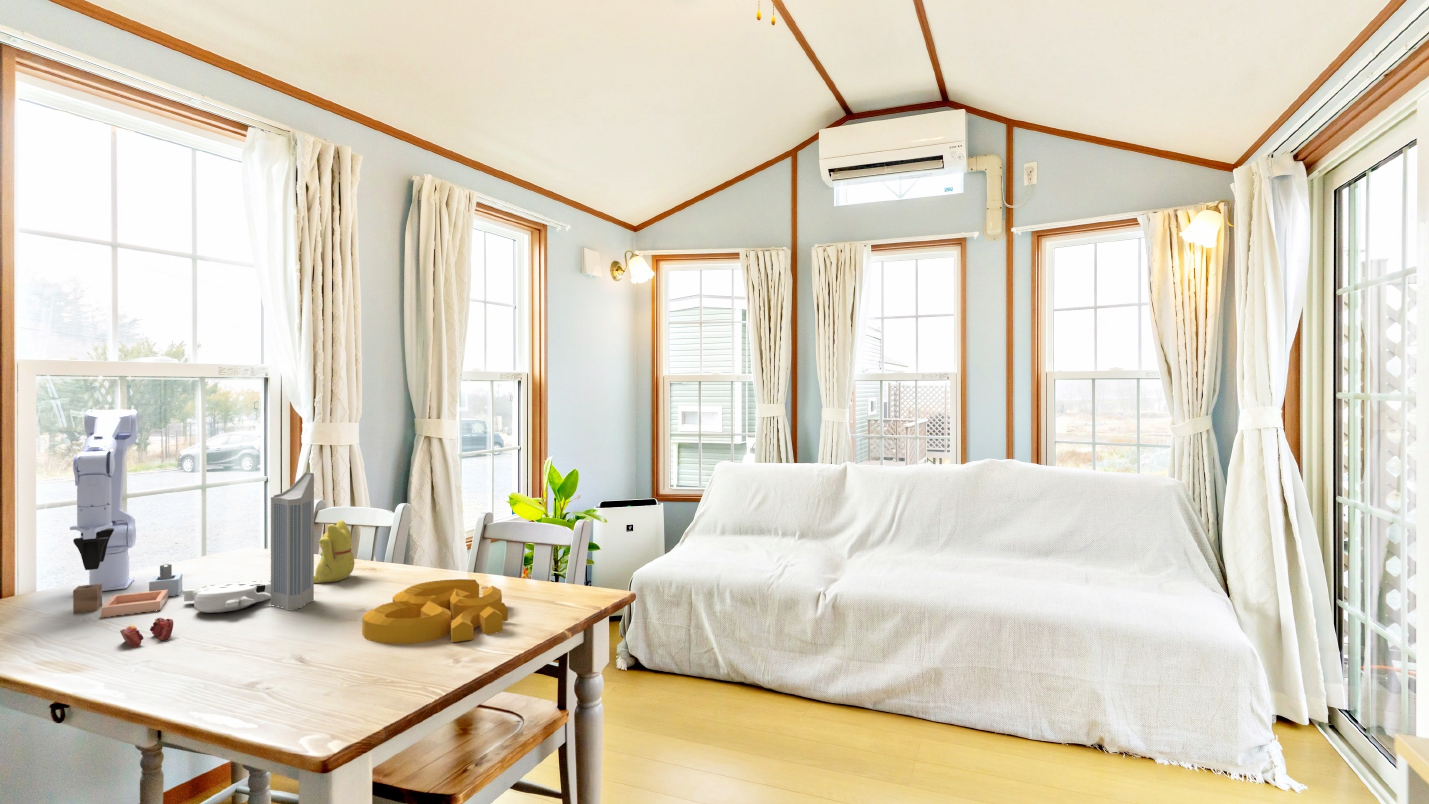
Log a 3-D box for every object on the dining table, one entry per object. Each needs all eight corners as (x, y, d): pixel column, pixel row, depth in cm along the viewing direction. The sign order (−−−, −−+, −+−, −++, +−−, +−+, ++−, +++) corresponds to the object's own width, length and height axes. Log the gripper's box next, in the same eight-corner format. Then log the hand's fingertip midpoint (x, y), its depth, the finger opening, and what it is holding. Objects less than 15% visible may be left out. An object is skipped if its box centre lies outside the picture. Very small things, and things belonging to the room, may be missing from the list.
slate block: (153, 592, 167) (153, 576, 166) (182, 589, 169) (182, 573, 169) (149, 599, 162) (149, 582, 162) (178, 595, 165) (178, 579, 164)
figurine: (327, 574, 185) (327, 518, 184) (360, 574, 185) (361, 518, 185) (304, 586, 174) (304, 526, 173) (340, 586, 174) (340, 526, 174)
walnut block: (78, 608, 155) (78, 585, 155) (102, 605, 157) (101, 583, 157) (73, 613, 151) (73, 590, 151) (97, 610, 153) (97, 587, 153)
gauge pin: (160, 594, 166) (160, 564, 166) (172, 592, 167) (172, 563, 167) (159, 596, 164) (159, 566, 164) (170, 595, 165) (170, 565, 165)
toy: (147, 619, 147) (244, 614, 148) (148, 597, 148) (244, 592, 149) (216, 602, 169) (300, 597, 170) (217, 582, 170) (300, 578, 171)
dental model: (117, 622, 134) (168, 612, 141) (116, 643, 135) (167, 632, 141) (124, 629, 131) (176, 619, 137) (124, 651, 131) (176, 640, 137)
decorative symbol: (425, 576, 167) (541, 584, 162) (425, 596, 167) (541, 605, 162) (336, 614, 138) (473, 626, 132) (336, 640, 138) (473, 653, 133)
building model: (320, 599, 163) (320, 472, 162) (295, 610, 155) (296, 476, 154) (287, 598, 164) (287, 471, 163) (261, 609, 156) (261, 476, 155)
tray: (112, 605, 157) (112, 595, 157) (168, 598, 162) (168, 589, 162) (101, 617, 148) (101, 607, 148) (160, 610, 154) (160, 600, 154)
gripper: (76, 501, 158) (76, 561, 159) (63, 511, 146) (64, 575, 147) (116, 499, 162) (116, 557, 163) (107, 508, 151) (108, 570, 151)
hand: (94, 565), depth 155 cm, fingers open, 7 cm apart
